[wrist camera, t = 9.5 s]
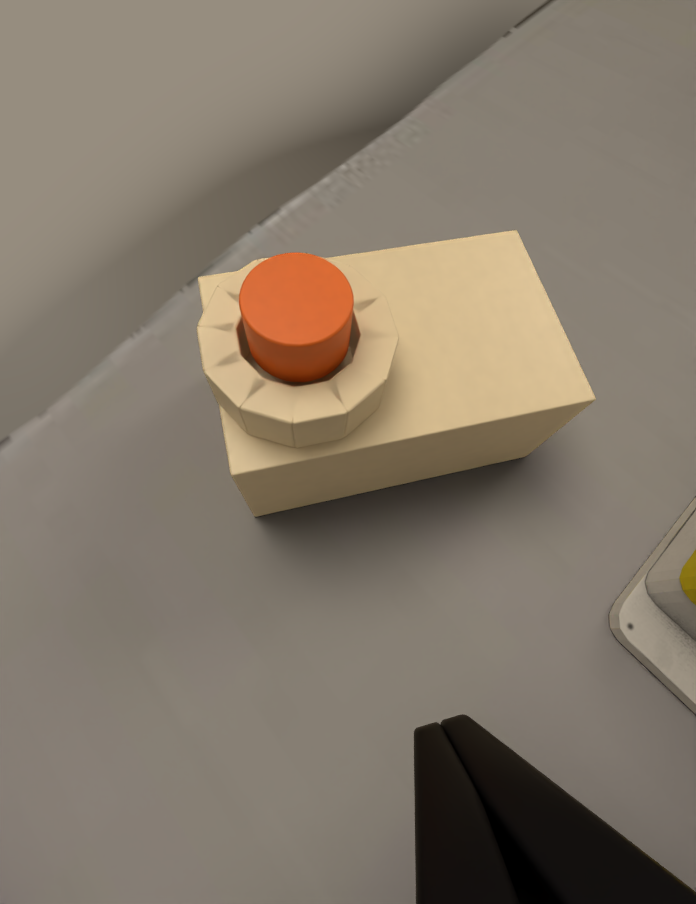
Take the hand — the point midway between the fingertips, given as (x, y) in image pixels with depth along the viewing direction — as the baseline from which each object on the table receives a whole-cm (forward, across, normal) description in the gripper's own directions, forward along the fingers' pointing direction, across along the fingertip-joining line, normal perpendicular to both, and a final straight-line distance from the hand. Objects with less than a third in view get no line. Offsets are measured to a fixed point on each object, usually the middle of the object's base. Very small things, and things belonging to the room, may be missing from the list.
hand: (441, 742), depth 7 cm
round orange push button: (+10, 0, -6) cm, 12 cm away
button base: (+16, -3, -2) cm, 17 cm away
